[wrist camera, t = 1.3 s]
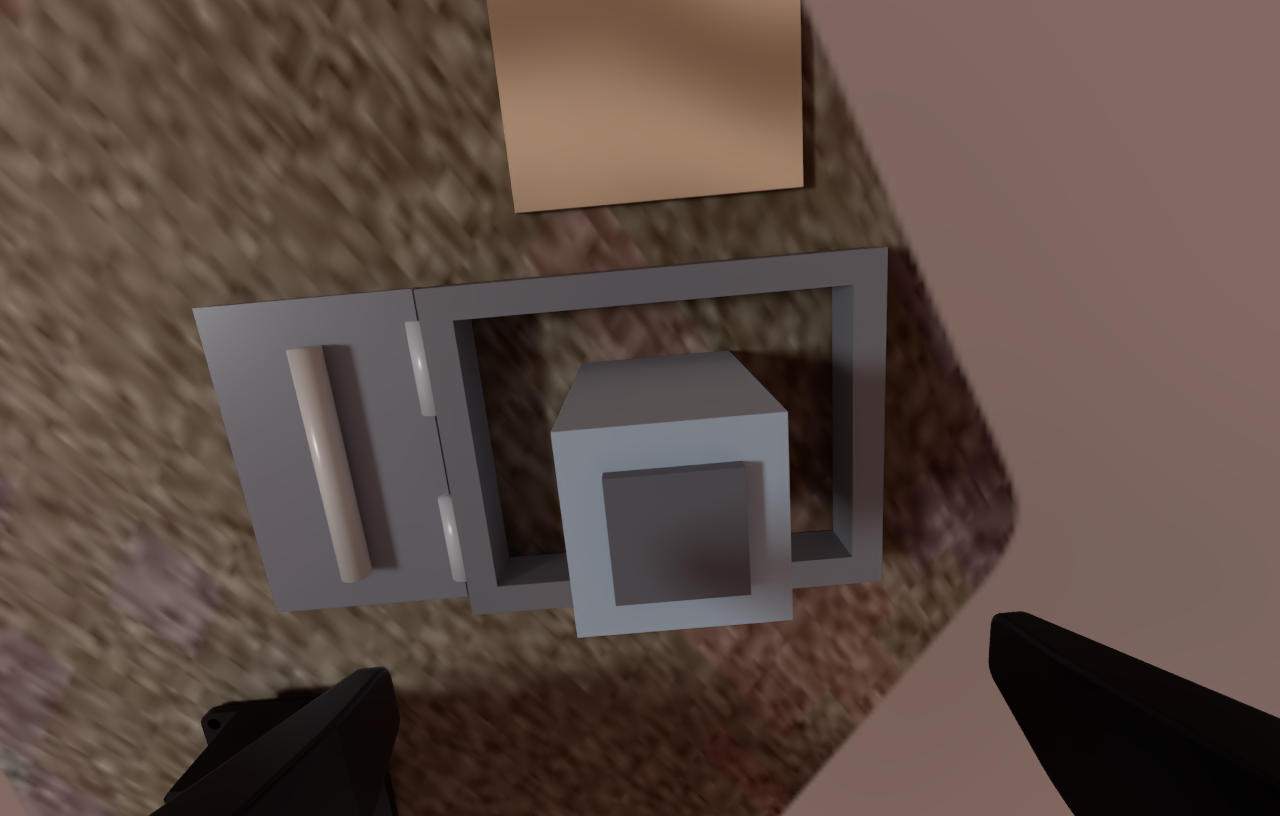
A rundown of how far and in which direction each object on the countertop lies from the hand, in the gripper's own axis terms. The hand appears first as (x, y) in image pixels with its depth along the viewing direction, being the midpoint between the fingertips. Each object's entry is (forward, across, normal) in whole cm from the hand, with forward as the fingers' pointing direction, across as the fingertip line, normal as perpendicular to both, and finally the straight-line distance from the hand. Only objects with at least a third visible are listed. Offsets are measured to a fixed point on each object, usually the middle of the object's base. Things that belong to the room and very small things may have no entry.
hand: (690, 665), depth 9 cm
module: (+12, 0, 0) cm, 12 cm away
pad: (+12, -1, -12) cm, 17 cm away
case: (+12, +4, 0) cm, 13 cm away
